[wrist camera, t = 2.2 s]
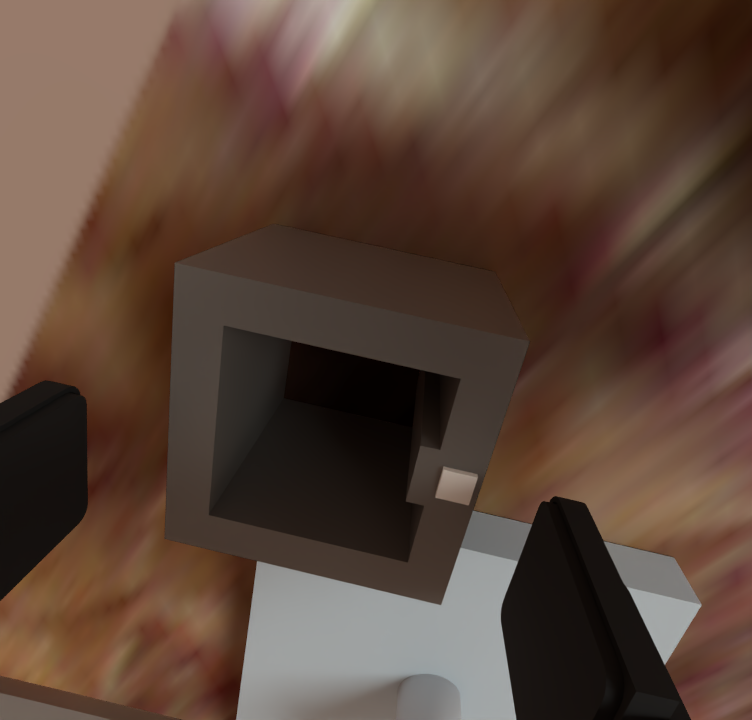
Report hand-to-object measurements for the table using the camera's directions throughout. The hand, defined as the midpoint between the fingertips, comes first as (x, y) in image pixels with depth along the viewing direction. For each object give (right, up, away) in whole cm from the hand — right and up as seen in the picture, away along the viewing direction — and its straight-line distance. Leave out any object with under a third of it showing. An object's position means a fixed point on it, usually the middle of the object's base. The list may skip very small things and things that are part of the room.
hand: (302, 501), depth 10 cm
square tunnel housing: (+1, +3, +6) cm, 7 cm away
